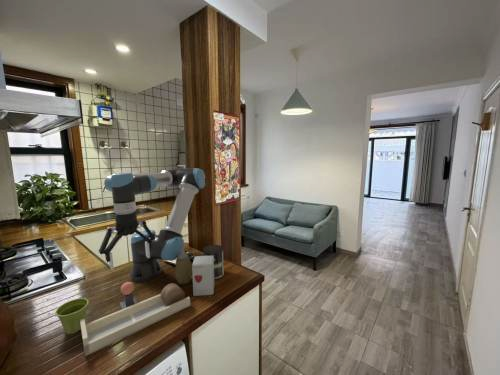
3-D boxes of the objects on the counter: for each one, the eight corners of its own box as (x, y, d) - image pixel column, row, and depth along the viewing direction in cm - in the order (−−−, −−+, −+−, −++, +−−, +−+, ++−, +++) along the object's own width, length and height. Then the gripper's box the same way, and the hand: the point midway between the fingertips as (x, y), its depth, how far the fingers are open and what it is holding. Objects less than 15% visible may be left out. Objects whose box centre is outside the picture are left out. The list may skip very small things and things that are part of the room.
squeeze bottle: (191, 285, 107) (189, 249, 105) (174, 287, 106) (172, 251, 104) (193, 276, 115) (191, 243, 113) (177, 277, 114) (174, 244, 111)
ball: (120, 293, 93) (118, 282, 93) (133, 288, 97) (132, 278, 96) (122, 299, 90) (121, 287, 89) (136, 294, 93) (135, 283, 92)
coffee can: (217, 281, 111) (216, 254, 109) (200, 276, 115) (199, 251, 113) (227, 271, 120) (226, 246, 118) (211, 267, 124) (210, 243, 122)
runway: (82, 335, 78) (79, 320, 77) (179, 293, 101) (178, 281, 100) (85, 356, 70) (82, 339, 69) (190, 305, 93) (189, 292, 92)
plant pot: (85, 334, 78) (82, 312, 77) (52, 341, 76) (49, 318, 74) (95, 316, 87) (92, 296, 86) (66, 321, 85) (63, 300, 83)
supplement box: (192, 296, 99) (191, 264, 97) (195, 284, 108) (194, 255, 106) (213, 295, 100) (212, 263, 97) (214, 283, 108) (213, 254, 106)
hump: (161, 305, 93) (159, 287, 92) (179, 297, 98) (178, 280, 97) (166, 312, 89) (165, 294, 88) (185, 303, 94) (184, 286, 93)
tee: (119, 304, 94) (118, 293, 93) (135, 298, 98) (134, 287, 97) (122, 311, 90) (121, 300, 89) (138, 305, 93) (137, 294, 93)
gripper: (88, 221, 77) (96, 277, 80) (160, 208, 94) (164, 255, 97) (85, 216, 82) (92, 270, 85) (154, 205, 99) (157, 250, 102)
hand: (130, 262), depth 91 cm, fingers open, 13 cm apart
